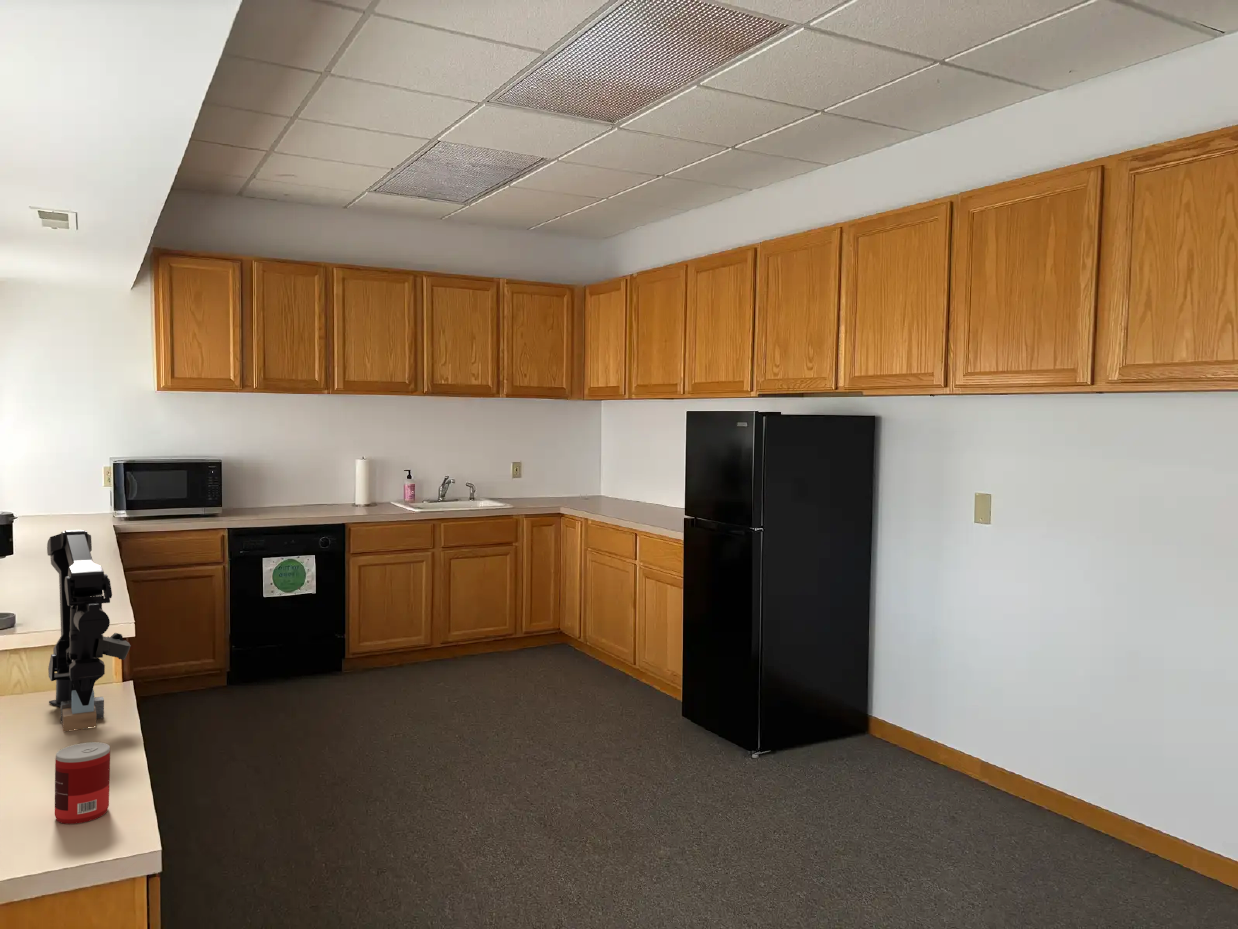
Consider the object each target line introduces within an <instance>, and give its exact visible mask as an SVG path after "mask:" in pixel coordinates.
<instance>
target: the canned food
mask: <svg viewBox="0 0 1238 929" xmlns="http://www.w3.org/2000/svg"><path fill="white" fill-rule="evenodd" d="M110 748H111V746H110V744H108V743H104V742H98V741H96V742H94V741H93V742H92V741H91V742H90V741H89V742H81V743H77V744H76V743H75V744H72V745H69V746H65V747H64V748H62V749H60V750H57V752H56V753H55V760H54V761H55V762H54V764H55V765H54V768H55V769H54V817H55V818H56V821H57V822H58V823H61V824H64V825H75V824H83V823H87V822H91V821H94V820H96V819H98V818H101V817H103V816H104V815H105V814H106V813H107V812H108V809H109V807H110V781H111V780H110V772H111V749H110Z"/></svg>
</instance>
